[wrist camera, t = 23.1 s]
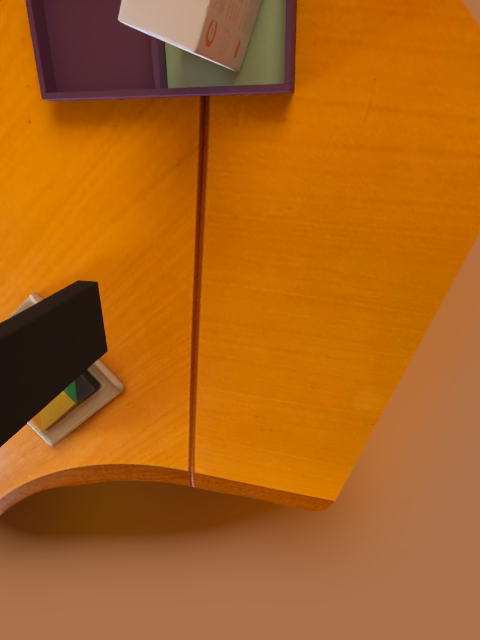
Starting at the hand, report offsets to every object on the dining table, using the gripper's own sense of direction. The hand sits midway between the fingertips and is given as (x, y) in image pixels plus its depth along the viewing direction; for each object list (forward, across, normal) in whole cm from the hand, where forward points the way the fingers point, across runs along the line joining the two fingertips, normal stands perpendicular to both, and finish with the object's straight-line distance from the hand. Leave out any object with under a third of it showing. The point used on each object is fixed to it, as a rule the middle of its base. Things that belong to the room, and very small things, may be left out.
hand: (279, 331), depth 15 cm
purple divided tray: (+35, -17, +16) cm, 42 cm away
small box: (+34, -11, +16) cm, 39 cm away
